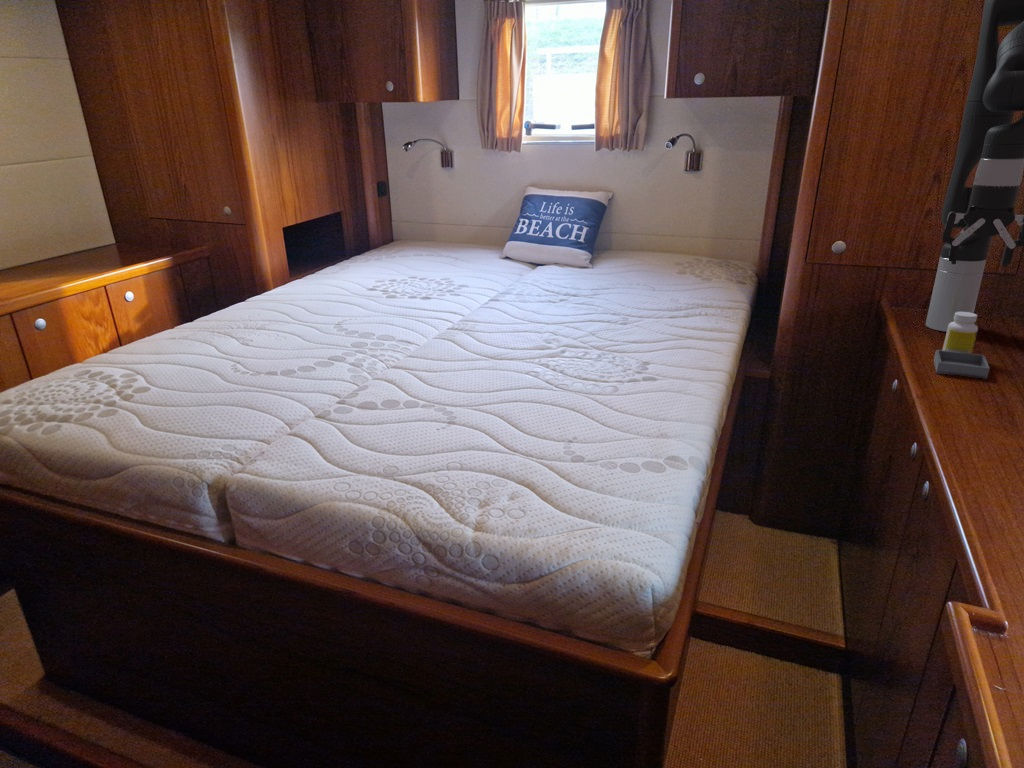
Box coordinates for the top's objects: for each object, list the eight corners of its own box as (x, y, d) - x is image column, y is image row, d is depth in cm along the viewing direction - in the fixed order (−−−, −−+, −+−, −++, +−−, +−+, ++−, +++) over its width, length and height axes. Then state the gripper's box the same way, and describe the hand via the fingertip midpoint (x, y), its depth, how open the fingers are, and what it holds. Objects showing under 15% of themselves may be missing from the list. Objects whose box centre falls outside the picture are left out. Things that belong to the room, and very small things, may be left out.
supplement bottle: (975, 362, 140) (986, 317, 136) (946, 361, 141) (956, 317, 137) (964, 354, 145) (974, 310, 141) (937, 353, 146) (946, 310, 142)
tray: (933, 360, 142) (935, 349, 141) (981, 365, 138) (984, 354, 137) (936, 373, 135) (938, 362, 134) (986, 379, 131) (989, 368, 130)
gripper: (1037, 181, 129) (1016, 264, 135) (952, 180, 136) (935, 259, 142) (1045, 185, 123) (1023, 271, 129) (955, 183, 129) (938, 266, 135)
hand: (977, 265), depth 135 cm, fingers open, 8 cm apart
